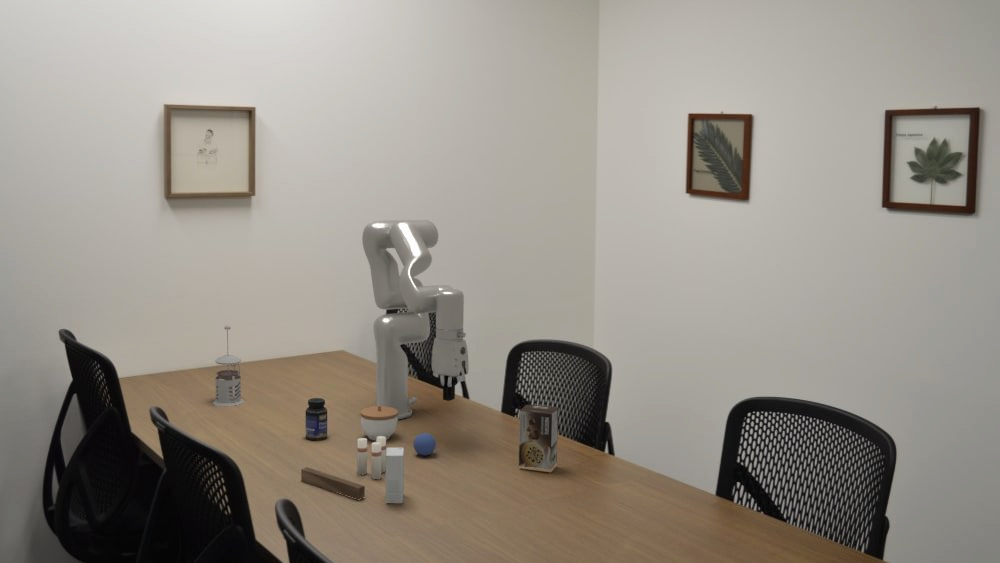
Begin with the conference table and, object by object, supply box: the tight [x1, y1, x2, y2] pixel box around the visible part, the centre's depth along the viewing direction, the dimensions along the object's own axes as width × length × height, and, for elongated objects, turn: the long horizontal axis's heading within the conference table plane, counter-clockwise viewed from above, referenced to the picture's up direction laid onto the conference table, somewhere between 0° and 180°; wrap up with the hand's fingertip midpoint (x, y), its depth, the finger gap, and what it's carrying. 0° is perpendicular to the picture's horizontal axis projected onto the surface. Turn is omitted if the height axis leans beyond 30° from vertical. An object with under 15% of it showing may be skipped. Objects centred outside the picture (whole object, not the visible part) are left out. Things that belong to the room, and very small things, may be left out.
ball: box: [413, 432, 437, 456], centre depth 262 cm, size 6×6×6 cm
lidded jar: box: [359, 405, 399, 441], centre depth 276 cm, size 11×11×9 cm
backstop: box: [300, 466, 366, 500], centre depth 235 cm, size 2×20×3 cm, turn 53°
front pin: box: [375, 436, 387, 473], centre depth 248 cm, size 2×2×9 cm
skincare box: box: [385, 447, 405, 504], centre depth 229 cm, size 6×4×12 cm
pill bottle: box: [305, 397, 328, 441], centre depth 274 cm, size 6×6×11 cm
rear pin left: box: [370, 441, 382, 480], centre depth 243 cm, size 2×2×9 cm
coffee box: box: [518, 404, 559, 469], centre depth 253 cm, size 9×6×16 cm
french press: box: [212, 325, 245, 407], centre depth 306 cm, size 10×12×25 cm
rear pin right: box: [356, 437, 368, 475], centre depth 246 cm, size 2×2×9 cm
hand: (448, 399), depth 267 cm, fingers closed
